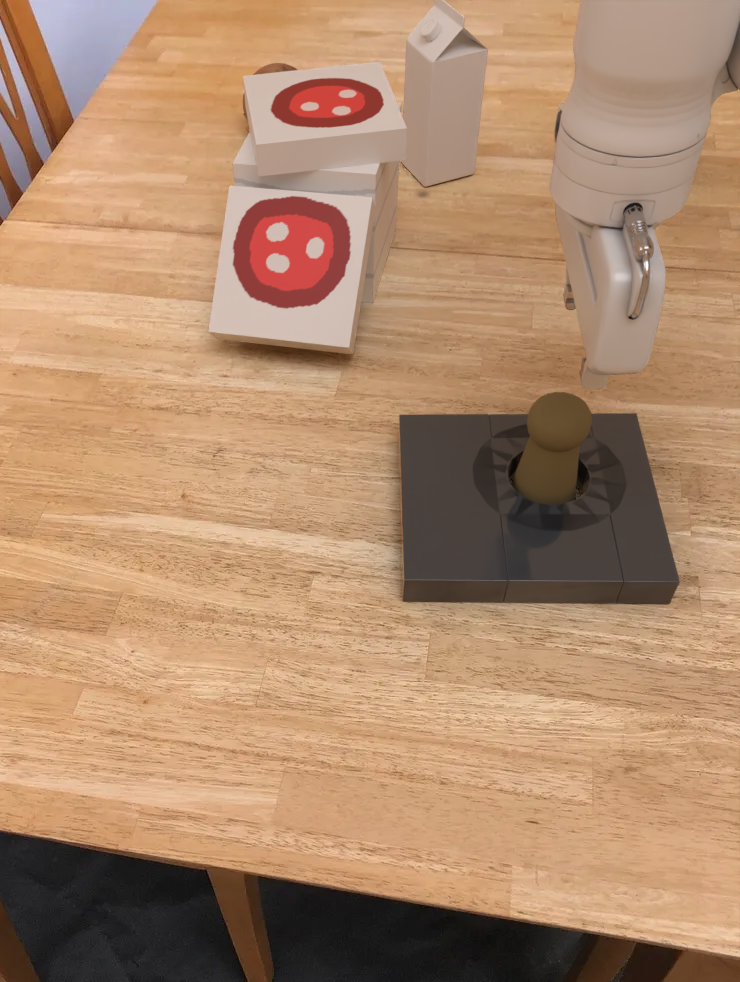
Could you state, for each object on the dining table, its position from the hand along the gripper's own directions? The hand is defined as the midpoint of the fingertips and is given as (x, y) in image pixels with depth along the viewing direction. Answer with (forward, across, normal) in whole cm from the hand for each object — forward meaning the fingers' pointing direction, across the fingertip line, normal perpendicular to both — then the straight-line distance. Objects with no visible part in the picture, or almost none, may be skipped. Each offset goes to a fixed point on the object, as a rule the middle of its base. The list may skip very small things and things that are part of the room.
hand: (582, 342), depth 71 cm
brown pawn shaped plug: (+17, 0, +1) cm, 17 cm away
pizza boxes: (+17, +33, +22) cm, 43 cm away
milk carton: (+18, +58, +7) cm, 61 cm away
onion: (+17, +68, +28) cm, 76 cm away
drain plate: (+17, -2, +2) cm, 17 cm away
